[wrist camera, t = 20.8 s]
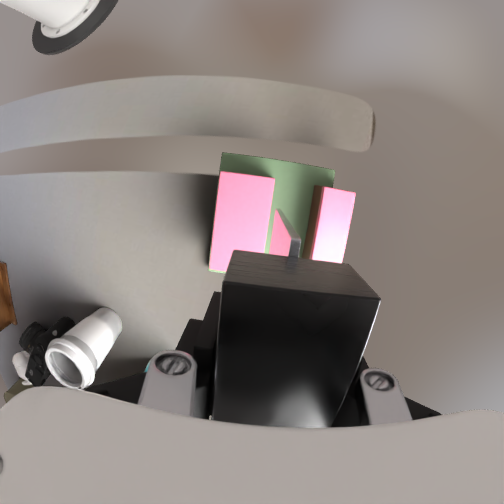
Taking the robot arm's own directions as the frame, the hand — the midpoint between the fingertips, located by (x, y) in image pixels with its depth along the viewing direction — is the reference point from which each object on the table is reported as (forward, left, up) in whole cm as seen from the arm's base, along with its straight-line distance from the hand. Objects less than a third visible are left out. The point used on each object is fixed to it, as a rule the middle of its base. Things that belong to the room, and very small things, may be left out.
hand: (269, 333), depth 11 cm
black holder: (0, 0, -5) cm, 5 cm away
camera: (+22, -32, -21) cm, 44 cm away
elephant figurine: (+30, -40, -21) cm, 54 cm away
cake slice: (-2, +6, -20) cm, 21 cm away
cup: (+16, -20, -21) cm, 33 cm away
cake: (-1, -2, -20) cm, 20 cm away
